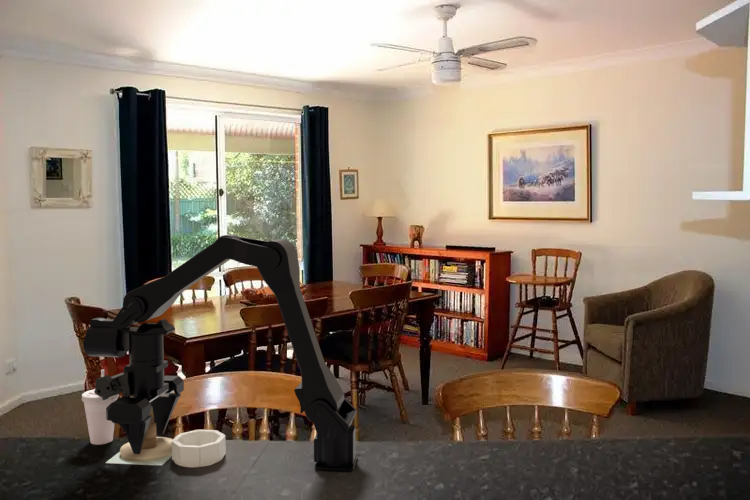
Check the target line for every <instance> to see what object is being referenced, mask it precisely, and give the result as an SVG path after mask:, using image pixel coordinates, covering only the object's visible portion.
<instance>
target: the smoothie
mask: <svg viewBox="0 0 750 500" xmlns="http://www.w3.org/2000/svg"><path fill="white" fill-rule="evenodd" d="M100 372H101V373H100V377H104V376H105V369H100ZM94 391H95V388H94V389H91V390H89V389H88V390H87V391H84V392H83V393H82V394H81V401H82V403H83V406H84V411H85V417H86V423H87V428H88V429H87V430H88V436H89V440H90V444H92V445H99V446H100V445H106V444H109V443H112V442H113V441H114V431H115V423H113V422H112V421H108V420H107V419H106V408H107V407H108V406H109V405H110V404H111V403H112V402H114V401H116V400H117V399H119V398H120V394H117V395H114V396H111V397H109V398H108V399H106V400H103V399H102V397H100V396H98V395H97V394H95V392H94Z"/></svg>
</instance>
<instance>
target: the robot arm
mask: <svg viewBox="0 0 750 500" xmlns="http://www.w3.org/2000/svg"><path fill="white" fill-rule="evenodd" d="M230 260H232V261H234V262H238V263H241V264H243V265H247V266H251V267H256V268H257V270H258V272H259V274H260V276H261V278H262V279H263V282H264V283H265V284H266V285H267V287H268V288H269V289H270V291H271V292H272V293H273V294H274V296H275V299H276V301H277V303H278V304H277V305H278V308H279V311H280V313H281V317H282V319H283V322H284V325H285V328H286V331H287V334H288V337H289V341H290V343H291V347H292V349H293V350H292V351H293V353H294V356H295V359H296V362H297V364H298V368H299V370H300V374H301V382H299V384H298V385H297V386H296V387H295V388H294V390H293V391H294V394H295V396H296V398H297V400H298V403H299V407H300V411H299V412H300V413H301V414H303V413H304V416H305V417H306V419H307V421H309V422H311V423H313V426H314V429H315V431H316V434H315V436H314V437H313V462H314V463H315V465H314V470H317V471H318V470H319V471H341V472H352V471H354V470H355V469H354V468H355V465H356V463H357V459H358V454H356V445H357V443H356V442H357V441H356V433H357V431H356V425H352V423H353V422H354V420H355V417H356V415H357V412H358V411H357V410H358V409H357V408H355V407H354V406H353V405H352V404H351V402H349V401H348V400H347V399H346V398H345V393H344V391H343V389H342V387H341V385H340V383H339V381H338V379H337V378H336V376H335V375H334V373H333V372H332V371H331V369H330V368H329V367H328V366H327V364H326V361H325V360H324V356H323V353H322V350H321V347H320V344H319V342H318V338H317V336H316V335H317V334H316V332H315V329H314V326H313V324H312V319H311V317H310V313H309V311H308V308H307V304H306V301H305V298H304V295H303V292H302V289H301V281H300V280H301V278H300V277H301V273H300V271H301V270H300V264H299V256H298V251H297V248H296V246H295V245H294V243H292V242H290V241H289V240H287V239H281V238H279V239H273V240H269V241H267V240H262V239H254V238H249V237H243V236H239V235H237V234H223V235H220V236H219V237H218V238H216V240H215V241H214V242H213V243H211V244H210V245H208V246H207V247H206V248H203V249H202V250H201V251H200V252H198V253H196V254H195V255H194V256H192V257H191V258H189V259H188V260H187V261H185V262H183V263H182V264H180V265H179V266H178V267H176V268H175V269H173V270H171V272H169V273H167V274H166V275H165V276H162V277H161V278H158V279H156V280H154V281H153V280H152V281H151V282H148V283H145V284H144V285H141V286H138V287H137V288H134V289H132V290H130V291H128V292H127V293H126V294H125V295H124V296H123V299H122V306H121V309H120V310H119V311H118V313H117V314H116V316H114V318H112V319H111V318H104V317H96V318H95V317H94V318H92V319H90V320H89V327H88V328H87V330H86V332H85V336H84V339H83V340H82V341H83V343H82V344H83V349H84V352H85V354H86V355H87V356H88V357H102V358H105V357H106V358H122V357H124V356H125V355H126V353H128V352H129V353H128V354H129V364H126V365H125V366H124V367H123V372H121V373H118V374H115V375H112V376H110V375H109V374H105V375H104V377H101V376H100V377H98V378H96V379H95V384H94V389H95V391H94V392H95V394H97V395H98V396H100V397H102V399H103V400H106V399H108V398H109V397H111V396H114V395H117V394H119V395H120V394H122V396H121V397H118V398H117V400H116V401H114V402H112V403H111V404H110V405H109V406H108V407H107V408H106V419H107V420H108V421H112V422H113V423H114V424H117V425H119V426H120V427H121V428H122V429H123V431H124V433H125V435H126V438H127V441H128V442H129V443H130V446H131V448H132V451H133V453H134V454H140V453H141V450H142V447H143V444H144V440H145V437H146V434H147V430H148V426H149V423H150V422H151V420H152V415H150V413H151V411H152V413H153V422H155V423H156V436H163V435H164V433H165V431H166V429H167V426H168V424H169V421H170V419H171V417H172V415H173V412H174V410H175V408H176V406H177V404H178V401H179V399H180V398H181V396H182V392H183V391H185V387H184V386H185V380H183V379H182V377H181V376H180V375H165V369H166V368H168V367H169V360H164V359H165V357H164V355H165V354H164V353H165V351H164V336H165V335H168V334H170V333H173V332H175V330H176V327H175V326H173V325H172V324H171V323H170V322H169V321H168V320H167V319H166V318H163V319H159V320H158V322H157V323H156V322H146V321H149V320H151V319H154V318H157V317H160V316H161V315H163V314H164V313H165V312H166V311H168V309H169V308H170V307H171V306H172V305H173V304H174V303H175V302H176V301H177V300H178V298H179V296H180V295H181V294H183V293H184V292H185V291H187V289H189V288H191V287H192V286H194V284H196V283H198V282H200V281H201V280H202V279H204V278H205V277H206V276H208V275H210V274H211V273H213V272H214V271H215V270H217V269H219V268H220V267H222V266H223V265H224V264H226V263H227V262H229V261H230ZM138 323H141V324H140V325H139V326H138V327H133V326H132V327H131V325H136V324H138ZM131 396H132V397H131Z"/></svg>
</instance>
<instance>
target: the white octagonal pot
mask: <svg viewBox="0 0 750 500" xmlns="http://www.w3.org/2000/svg"><path fill="white" fill-rule="evenodd" d="M172 439H173V440H172V456H171V459H172V461H173V463H175V465H178V466H179V467H184V468H202V467H208V466H211V465H214V464H217V463H219V462H220V461H222V460H223V459H224V457H225V455H226V454H227V453H226V452H227V447H226V445H227V443H226V441H227V440H226V434H224V433H222V432H220V431H219V430H217V429H216V430H215V429H194V430H190V431H186V432H181V433H179V434H178V435H176V436H175V437H174V438H172Z"/></svg>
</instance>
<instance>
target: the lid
mask: <svg viewBox="0 0 750 500" xmlns="http://www.w3.org/2000/svg"><path fill="white" fill-rule="evenodd" d="M173 439H174V438H171V437H165V436H157V434H156V423H155V422H154V421H150V423H149V426H148V430H147V434H146V437H145V440H144V444H143V447H142V450H141V453H140V454H134V453H133V451H132V448H131V446H130V443H129V441H128V442H126V443H124V444H123V445H121V446H120V449H119V452H120V456H121V457H122V458H124V459H126V460H130V461H151V460H156V459H160V458H164V457H167V456H169V455H171V454H172V440H173Z"/></svg>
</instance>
